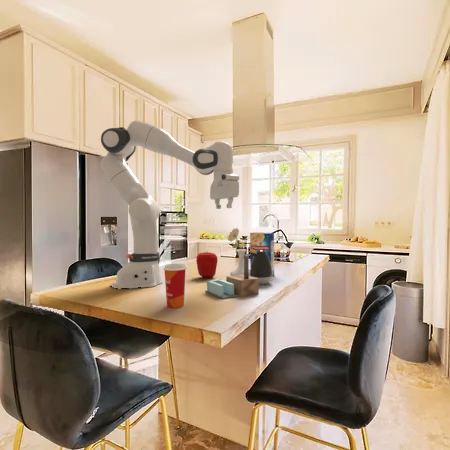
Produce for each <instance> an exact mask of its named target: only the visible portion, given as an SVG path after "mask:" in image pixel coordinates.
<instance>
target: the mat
mask: <svg viewBox="0 0 450 450" xmlns="http://www.w3.org/2000/svg"><path fill="white" fill-rule="evenodd" d="M204 292H205V293H207V294H209V295H212V296H214V297H216V298H219V299H222V300H226V299H233V298H238V297H240V296H239V295H237V294H234V295H230V294H227V293H225V292H224V296H221V297H220V296H218V295H216V294H213V293H211V292H209V291H207V289H205V290H204Z"/></svg>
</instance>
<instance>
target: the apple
mask: <svg viewBox="0 0 450 450" xmlns="http://www.w3.org/2000/svg"><path fill="white" fill-rule="evenodd" d="M195 261H196V266H197V268H196V269H197V271H198V275H199V276H200V277H201V278H203V279H210V278H214V277H215V275H216V272H217V267H218V256H217V254H216V253H213V252H208V251H206V252H200V253H198V254H197V256H196V260H195Z"/></svg>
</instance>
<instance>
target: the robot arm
mask: <svg viewBox="0 0 450 450" xmlns="http://www.w3.org/2000/svg"><path fill="white" fill-rule="evenodd" d="M100 142H101V146H102V147H103V149H104V150H106V151H107V154H106V155H105V156H103V157H102V159H101V161H100V167H101V169H102V171H103V173H104V175H105V177H106V179H107V180H108V182H109V183H110V184H111V186H112V187H113V188H114V190H115V191H116V192H117V194H118V196H119V197H120V198H121V199H122V200H123V201H124V202H125V203H126V205H128V214H129V217H130V224H131V229H132V230H131V231H132V238H133V239H132V240H133V243H132V244H133V253H131V254H130V253H126V258H127V259H128V262H127V263H126V264H125V265H123V266H122V268H120V269H119V270H118V271H117V273H116V277H115V278H116V279H115V281H113V282H111V283H110V286H112V287H111V288H113V287H115V288H119V289H118V290H122V289H121V288H129V289H138V287H141V288H153V287H156V286H157V285H161V284H162V283H163V280H162V276H161V271H160V252H159V234H158V229H157V221H156V220H158V219H159V216H160V213H161V208H160V206H159V204H158V203H157V202H156V200H155V199H154V198H153V197H152V195H151V194H150V193H149V192H148V191H147V189H146V188H145V187H144V186H143V184H142V183H141V181H140V180H139V179H138V178H137V176H136V175H135V174H134V172H133V170H132V169H131V168H130V166H129V165H128V164H127V162H128V161H129V160H130V158H131V157H132V156H133V154H135V152H136V149H137V147H141V148H144V149H146V150H148V151H151V152H153V153H157V154H161V155H164V156H168V157H172V158H175V159H177V160H179V161H181V162H184V163H186V164H188V165H191V166H192V167H194V169H195V170H196V171H197V172H198V173H199V174H201V175H203V176H208V175H209V176H210V175H211V174H212V173H213V181H212V183H211V184H210V187H209V189H210V190H209V191H210V192H209V198H210V200H213V201H214V203H215V208H216V210H221V209H222V207H221V206H222V205H221V204H220V203H221V202H220V201H221V200H224V199H227V203H226V208H227V209H232V208H233V207H232V206H233V203H234V202H233V201H234V198H238V197H239V195H240V182H239V180H240V175H238V174H236V173H234V170H233V163H234V155H233V154H234V152H233V148H232V145H230V143H228V142H226V141H223V140H222V141H218V140H217V141H215V142H214V143H213V144H210V145H209V146H207V147H204V148H199V149H197V150H195V151H193V150H191V149H188V148H187V147H185V146H183V145H181V144H179V142H178V141H177V140H175V139H174V138H173V137H172V135H170V133H168V132H167V131H166V130H164V129H163V128H161V127H159V126H156V125H154V124H151V123H148V122H144V121H141V120H133V121H131V122H130V123H129V125H128V127H127V128H125V127H123V126H122V127H120V126H119V127H112V128H111V127H110V128H107V129H105V130H104V131H103V132H102V133H101V136H100ZM115 288H114V289H115Z"/></svg>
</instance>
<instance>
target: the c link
mask: <svg viewBox="0 0 450 450" xmlns="http://www.w3.org/2000/svg"><path fill="white" fill-rule="evenodd" d="M206 288H207V289H206V290H207V291H209V292H211V293H213V294H216V295H218V296H220V297H221V296H224V292H225V293H227V294H230V295H234V284H232V283H229V282H226V280H224V279H211V280H207V282H206Z"/></svg>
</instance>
